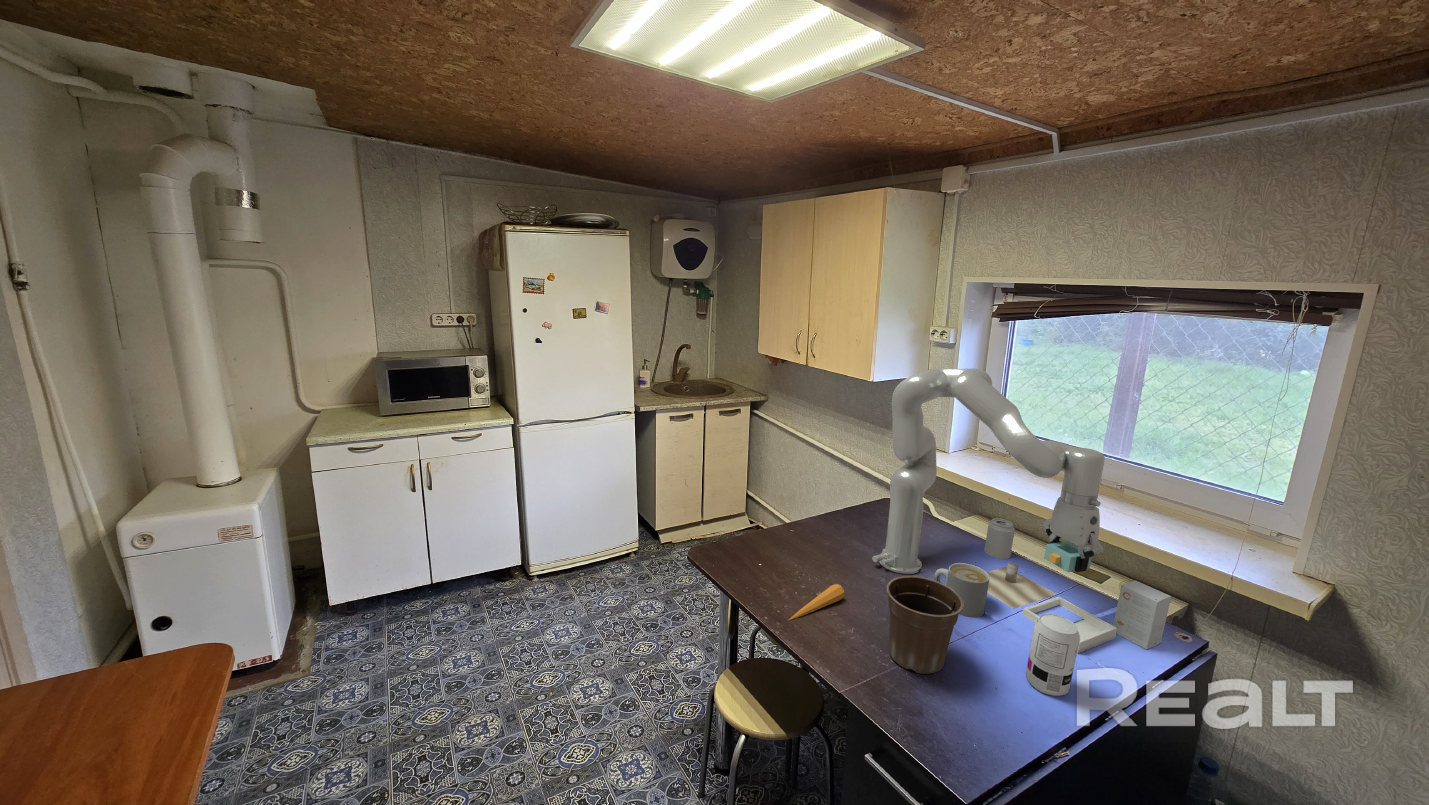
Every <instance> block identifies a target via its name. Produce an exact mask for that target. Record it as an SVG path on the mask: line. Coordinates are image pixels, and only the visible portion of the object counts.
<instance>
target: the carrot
mask: <svg viewBox="0 0 1429 805" xmlns="http://www.w3.org/2000/svg"><path fill="white" fill-rule="evenodd" d="M844 597H845V590H844V588H843V587H842V586H841V585H840V584H838V583H834V584H832V585H830V586H829V587H828V588H826V589H825V590H824V591H822V592H821V593H819V594H818V595H817V596H816V597H814V598H813V599H812V600H811V601H809V602H808V603H807V604H805V605H804V606H803V607H802V608H800V609H799V610H798V611H797V612H796V613H794V614H793V615H792V616H791V617H790V618H789V619H787V622H789V621H791V620H794V619H797V618H800V617H803V616H805V615H808V614H810V613H812V612H815V611H817V610H820V609H822V608H825V607H827V606H829V605H832V604H834V603H837V602H839V601H840V600H843V598H844Z"/></svg>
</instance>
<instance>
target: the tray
mask: <svg viewBox="0 0 1429 805" xmlns="http://www.w3.org/2000/svg"><path fill="white" fill-rule="evenodd" d="M1057 606H1060V607H1062V608H1064V609H1065V610H1068V612H1069V611H1070V612H1072V613H1073V614H1074V615H1076V616H1078V617H1080V618H1082V619H1079V620H1076V621H1072V622H1073V623H1074V624H1075V625H1076V626H1077V628H1078V632H1079V635H1080V641H1079V646H1078V651H1077V655H1078V654H1081V653H1083V652H1085V650H1086V651H1088V650H1090V649H1093V648H1095V647H1098V646H1100V645H1102V644H1105V643H1108V642H1109V641H1110V642H1111V641H1113V640H1115V638H1116V634H1117V633H1116V630H1117V628H1116V627H1114V626H1113V624H1111V623H1108V622H1107V621H1105V620H1103V619H1102V618H1099V617H1098V616H1096V615H1094V614H1092V613H1091V612H1089V611H1087V610H1085V609H1083V608H1082V607H1080V606H1077V605H1075V604H1074V603H1072V602H1070V601H1068V600H1066V599H1064V598H1063V597H1061V596H1057V597H1054V598H1051V599H1048V600H1045V601H1042V602H1039V603H1036V604H1033V605H1030V606H1027V607H1024V608H1022V611H1021V612H1022V613H1021V615H1022V617H1024V618H1026V619H1028V620H1029V621H1031V622H1033V623H1034V624H1035V622H1036V621H1037V619H1039V618H1040V616H1041V615H1040V616H1039V615H1038V614H1037V613H1040V612H1043V611H1044V610H1045V611H1046V610H1048V609H1051V608H1054V607H1057ZM1080 652H1081V653H1080Z"/></svg>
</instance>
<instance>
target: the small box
mask: <svg viewBox="0 0 1429 805" xmlns="http://www.w3.org/2000/svg"><path fill="white" fill-rule="evenodd" d="M1171 599H1172V596H1171V595H1169V594H1168V593H1164V592H1163V591H1160V590H1158V589H1156V588H1154V587H1151V586H1149V585H1147V584H1144V583H1143V582H1140V581H1137V580H1133V581H1130V582H1127V583H1124V584H1121V586H1120V591H1119V595H1118V600H1117V604H1116V605H1117V606H1116V610H1115V614H1114V619H1113V623H1112V625H1113V626H1114V627H1116V628H1117V630H1116V634H1117V635H1119V636H1120V637H1123V638H1124V639H1125V640H1128V641H1130V642H1132V643H1134V644H1135V645H1138V646H1139V647H1141V648H1143V649H1145V650H1148V649H1152V648H1153V647H1155V646H1157V645H1159V644H1161V642H1162V639H1163V638H1162V637H1163V633H1164V630H1165V626H1166V621H1167V618H1168V613H1169V609H1170V608H1169V607H1170V604H1171Z"/></svg>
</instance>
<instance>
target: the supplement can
mask: <svg viewBox="0 0 1429 805" xmlns="http://www.w3.org/2000/svg"><path fill="white" fill-rule="evenodd" d="M1073 622H1074V621H1072V620H1070V619H1068V618H1066V617H1065V616H1061V615H1058V614H1054V613H1043V614H1041V615H1040V618H1039V619H1037V621H1036V622H1035V623H1034V627H1033V631H1032V636H1031V642H1030V649H1029V654H1028V658H1027V664H1026V669H1025V677H1026V679H1027V681H1028V682H1029V683H1030V684H1031V686H1032V687H1033V688H1034V689H1036V690H1037V691H1039V692H1041V693H1043V694H1045V695H1049V696H1053V697H1061V696H1064V695H1066V694H1068V693H1069V691H1070V687H1071V684H1072V683H1071V682H1072V678H1073V675H1074V671H1075V670H1074V669H1075V664H1076V659H1077V655H1078V654H1077V651H1078V646H1079V641H1080V635H1079V632H1078V628H1077V626H1076V625H1075V624H1074V623H1073Z"/></svg>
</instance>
